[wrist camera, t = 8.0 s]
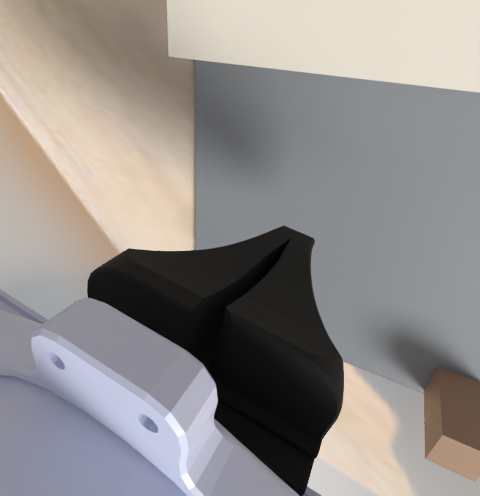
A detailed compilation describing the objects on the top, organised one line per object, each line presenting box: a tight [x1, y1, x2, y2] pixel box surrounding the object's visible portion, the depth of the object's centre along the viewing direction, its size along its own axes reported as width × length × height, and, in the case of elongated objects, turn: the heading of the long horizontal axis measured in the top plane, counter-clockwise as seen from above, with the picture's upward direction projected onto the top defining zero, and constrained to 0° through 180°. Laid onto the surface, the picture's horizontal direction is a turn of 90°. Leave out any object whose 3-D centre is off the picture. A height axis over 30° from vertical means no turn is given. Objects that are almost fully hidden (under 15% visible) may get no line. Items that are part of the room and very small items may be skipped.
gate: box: [167, 0, 480, 93], centre depth 9 cm, size 14×2×5 cm, turn 84°
